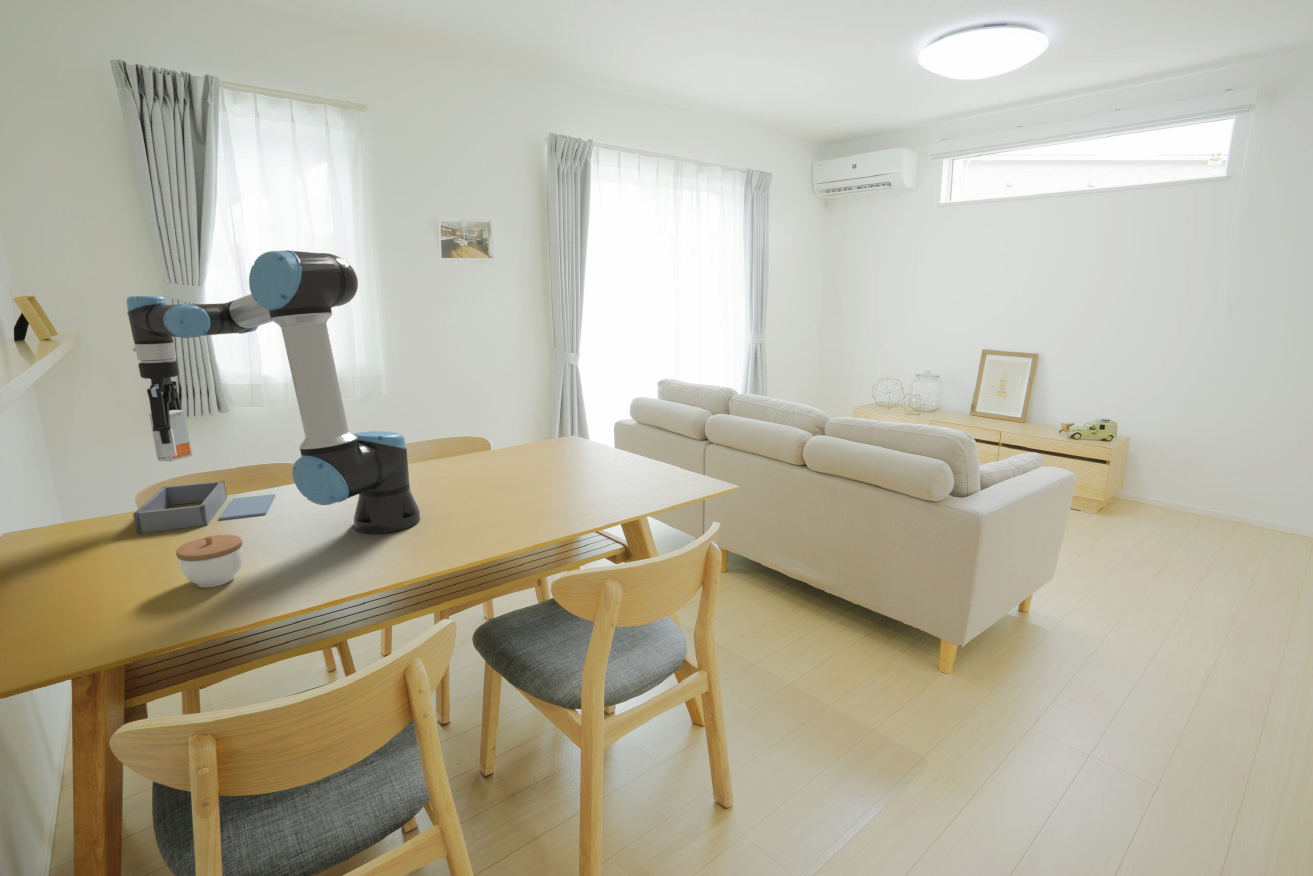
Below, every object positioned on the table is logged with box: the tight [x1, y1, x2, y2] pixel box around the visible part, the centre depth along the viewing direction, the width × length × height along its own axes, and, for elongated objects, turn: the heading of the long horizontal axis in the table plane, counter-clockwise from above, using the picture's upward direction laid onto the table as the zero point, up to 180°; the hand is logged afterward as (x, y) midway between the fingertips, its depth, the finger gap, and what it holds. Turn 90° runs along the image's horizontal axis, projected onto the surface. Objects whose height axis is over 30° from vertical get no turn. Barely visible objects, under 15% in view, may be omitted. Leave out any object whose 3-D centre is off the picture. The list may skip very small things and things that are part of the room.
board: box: [219, 493, 276, 521], centre depth 167 cm, size 16×10×1 cm, turn 23°
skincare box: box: [149, 409, 193, 462], centre depth 157 cm, size 6×4×12 cm
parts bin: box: [133, 480, 228, 535], centre depth 161 cm, size 22×14×5 cm, turn 23°
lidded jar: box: [175, 534, 244, 589], centre depth 125 cm, size 11×11×9 cm
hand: (174, 452), depth 158 cm, fingers closed on skincare box, 7 cm apart
